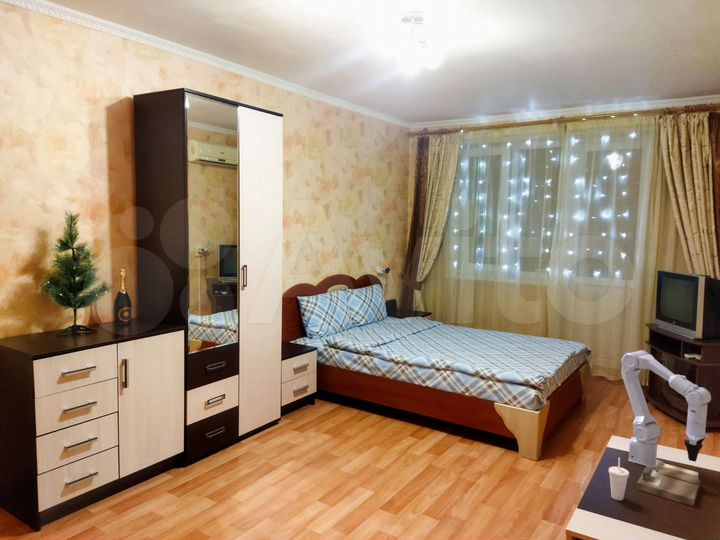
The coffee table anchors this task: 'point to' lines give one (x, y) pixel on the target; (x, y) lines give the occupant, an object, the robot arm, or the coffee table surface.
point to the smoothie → (618, 481)
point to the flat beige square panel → (668, 486)
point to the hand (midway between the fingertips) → (693, 456)
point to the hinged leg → (676, 472)
